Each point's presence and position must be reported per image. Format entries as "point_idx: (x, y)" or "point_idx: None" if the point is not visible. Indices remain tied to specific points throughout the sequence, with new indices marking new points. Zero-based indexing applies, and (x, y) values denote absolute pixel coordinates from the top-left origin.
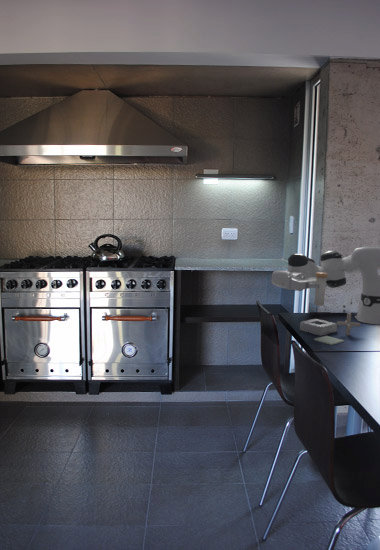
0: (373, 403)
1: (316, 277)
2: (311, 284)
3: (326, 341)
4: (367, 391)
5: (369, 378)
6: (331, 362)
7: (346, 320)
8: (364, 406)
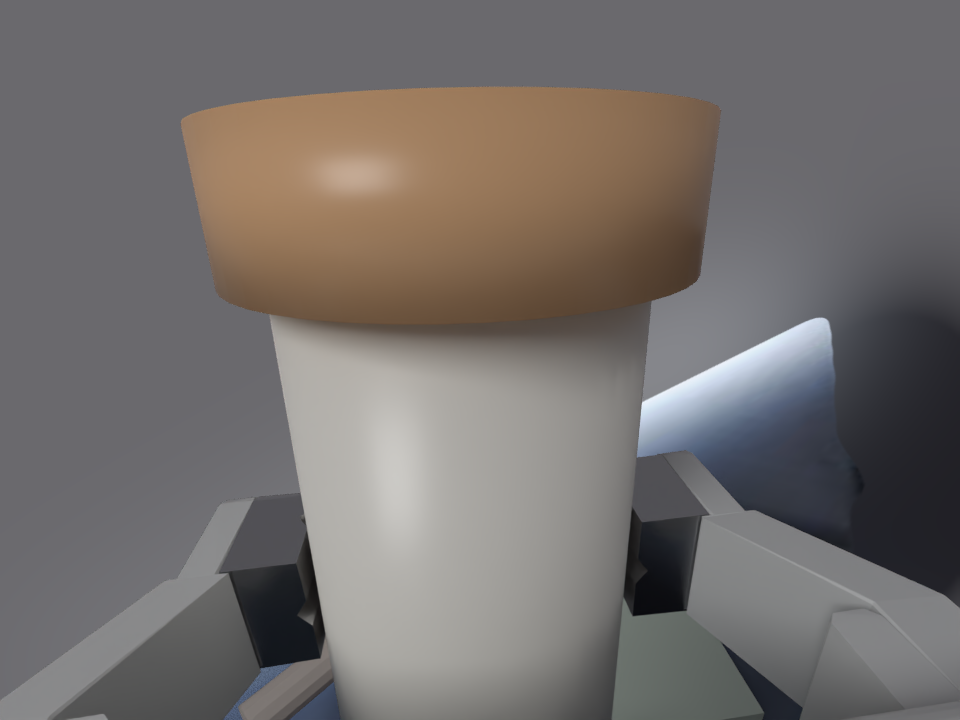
0: (800, 326)
1: (641, 332)
2: (848, 581)
3: (688, 618)
4: (784, 344)
5: (733, 368)
6: (805, 444)
7: (270, 702)
8: (827, 325)
